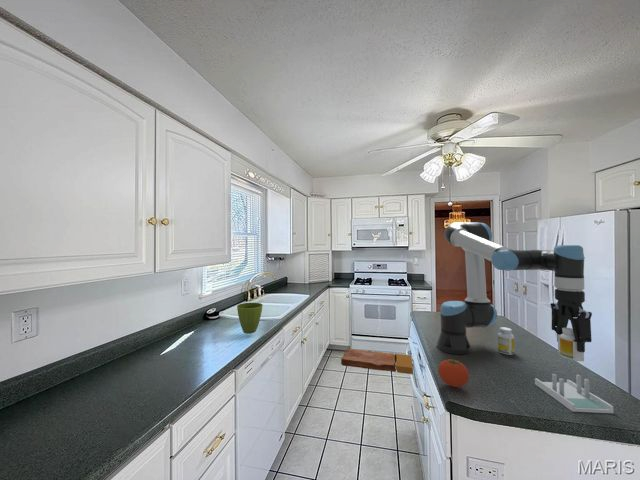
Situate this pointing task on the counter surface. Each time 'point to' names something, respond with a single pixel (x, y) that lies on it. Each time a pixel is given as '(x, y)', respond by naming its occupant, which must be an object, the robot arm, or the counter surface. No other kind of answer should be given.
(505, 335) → the pill bottle
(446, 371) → the tomato
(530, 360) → the counter surface
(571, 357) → the supplement bottle
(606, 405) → the tray
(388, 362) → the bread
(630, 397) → the counter surface
